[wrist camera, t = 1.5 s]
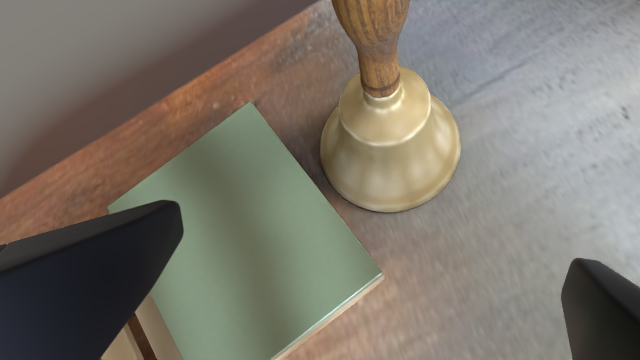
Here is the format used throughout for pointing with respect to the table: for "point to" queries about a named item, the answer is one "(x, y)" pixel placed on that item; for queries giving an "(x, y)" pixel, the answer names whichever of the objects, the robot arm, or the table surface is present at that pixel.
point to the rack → (244, 252)
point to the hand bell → (386, 119)
